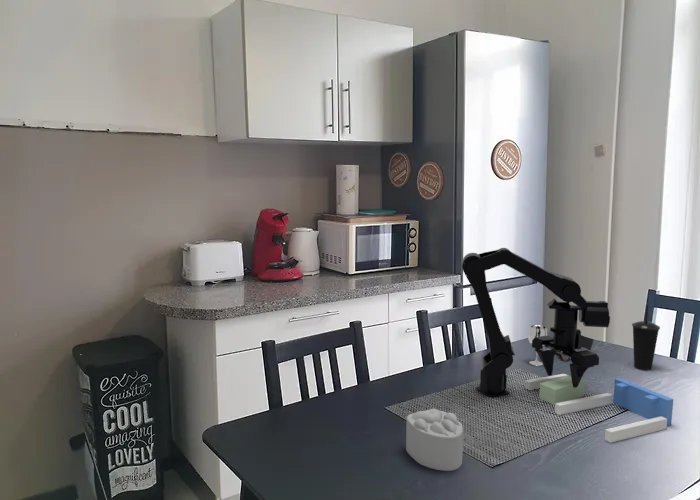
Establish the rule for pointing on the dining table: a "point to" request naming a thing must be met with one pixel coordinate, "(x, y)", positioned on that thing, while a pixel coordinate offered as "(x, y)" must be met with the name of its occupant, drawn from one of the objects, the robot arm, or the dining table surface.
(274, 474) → the dining table surface
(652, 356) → the drinking cup
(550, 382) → the plug block
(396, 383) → the dining table surface
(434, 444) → the lumpy-topped squat cylinder
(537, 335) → the wineglass
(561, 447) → the dining table surface
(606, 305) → the robot arm
